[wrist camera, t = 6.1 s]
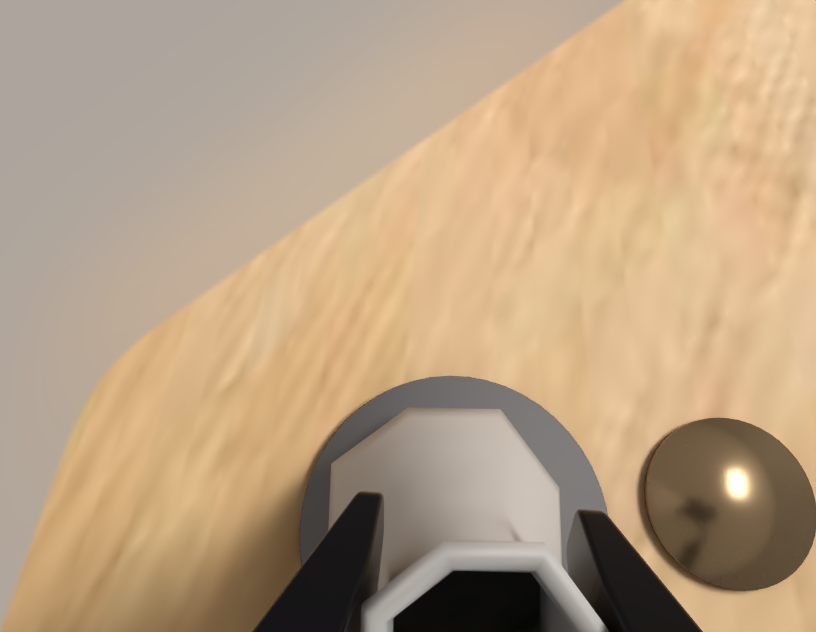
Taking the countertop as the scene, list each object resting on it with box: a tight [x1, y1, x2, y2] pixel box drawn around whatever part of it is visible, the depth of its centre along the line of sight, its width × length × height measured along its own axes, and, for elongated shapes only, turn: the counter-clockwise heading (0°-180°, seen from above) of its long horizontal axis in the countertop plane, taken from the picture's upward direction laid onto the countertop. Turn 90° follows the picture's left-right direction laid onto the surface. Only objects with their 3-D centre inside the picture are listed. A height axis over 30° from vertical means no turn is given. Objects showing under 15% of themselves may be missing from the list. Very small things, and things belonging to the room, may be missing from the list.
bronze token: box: [645, 418, 816, 591], centre depth 16 cm, size 5×5×1 cm
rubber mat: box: [300, 376, 608, 574], centre depth 16 cm, size 10×10×1 cm
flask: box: [328, 408, 610, 632], centre depth 11 cm, size 7×7×10 cm
